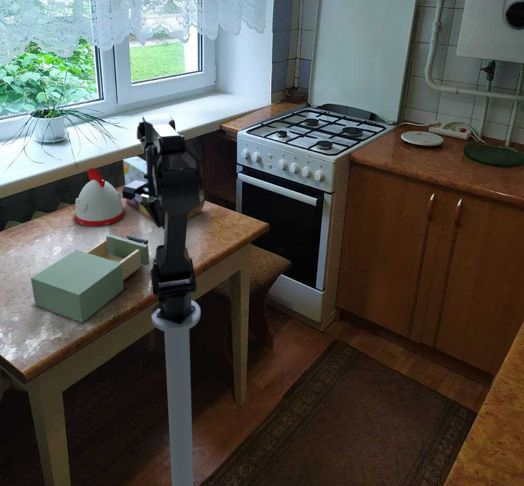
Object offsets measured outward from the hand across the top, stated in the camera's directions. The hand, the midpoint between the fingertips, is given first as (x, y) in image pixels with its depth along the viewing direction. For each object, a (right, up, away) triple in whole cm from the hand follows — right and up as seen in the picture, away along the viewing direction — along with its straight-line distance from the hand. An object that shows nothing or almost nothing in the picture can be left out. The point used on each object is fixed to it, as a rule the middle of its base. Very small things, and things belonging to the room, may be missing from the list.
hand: (162, 227), depth 121 cm
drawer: (-12, -10, +4) cm, 16 cm away
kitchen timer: (-25, 0, +31) cm, 40 cm away
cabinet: (-17, -15, -7) cm, 24 cm away
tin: (+1, 0, +32) cm, 32 cm away
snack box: (-11, +1, +35) cm, 36 cm away
